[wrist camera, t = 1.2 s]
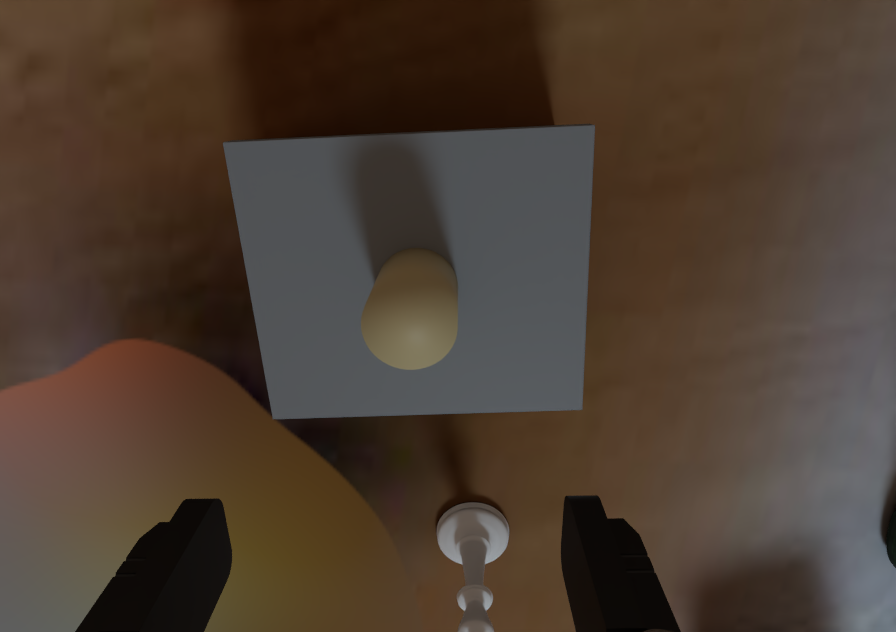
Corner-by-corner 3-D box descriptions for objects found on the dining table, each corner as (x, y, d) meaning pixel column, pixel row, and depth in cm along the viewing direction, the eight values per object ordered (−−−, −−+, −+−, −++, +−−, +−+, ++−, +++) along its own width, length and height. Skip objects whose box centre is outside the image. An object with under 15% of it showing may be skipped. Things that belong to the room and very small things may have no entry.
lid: (589, 123, 24) (624, 133, 19) (578, 399, 29) (603, 466, 24) (231, 140, 24) (171, 154, 19) (279, 408, 29) (240, 476, 24)
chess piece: (471, 489, 38) (476, 618, 29) (524, 530, 39) (544, 667, 30) (421, 531, 40) (410, 668, 30) (473, 570, 41) (477, 713, 31)
